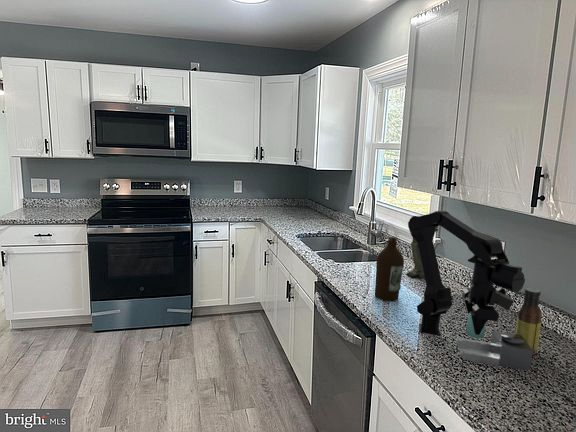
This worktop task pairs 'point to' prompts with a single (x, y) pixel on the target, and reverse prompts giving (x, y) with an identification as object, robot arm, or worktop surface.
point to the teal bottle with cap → (471, 331)
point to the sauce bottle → (530, 319)
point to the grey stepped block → (498, 350)
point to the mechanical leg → (417, 261)
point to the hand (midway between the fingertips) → (475, 330)
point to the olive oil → (389, 272)
